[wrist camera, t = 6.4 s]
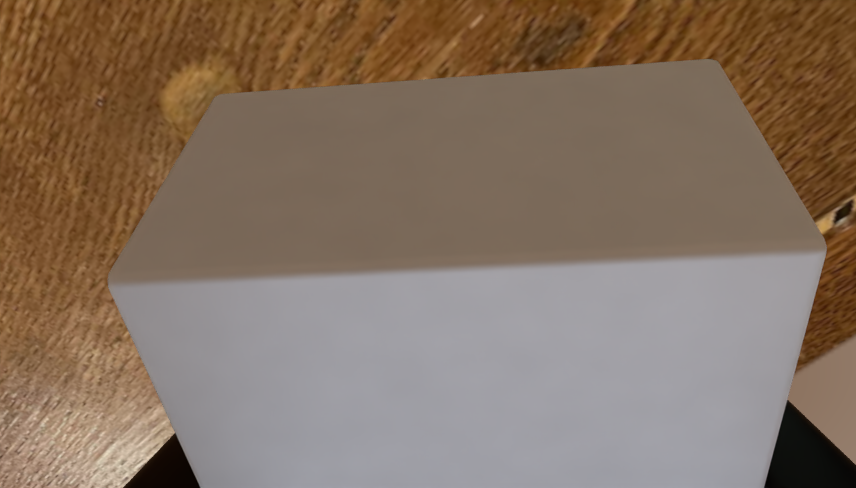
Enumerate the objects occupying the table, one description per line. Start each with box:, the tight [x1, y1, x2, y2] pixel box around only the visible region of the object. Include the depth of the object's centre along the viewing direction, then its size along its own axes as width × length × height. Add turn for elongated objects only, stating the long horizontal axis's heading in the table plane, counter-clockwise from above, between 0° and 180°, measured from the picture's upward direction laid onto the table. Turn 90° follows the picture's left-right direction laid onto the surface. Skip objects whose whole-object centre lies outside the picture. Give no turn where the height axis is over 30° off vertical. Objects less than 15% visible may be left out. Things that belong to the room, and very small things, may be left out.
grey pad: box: [108, 59, 827, 488], centre depth 8 cm, size 7×5×3 cm
